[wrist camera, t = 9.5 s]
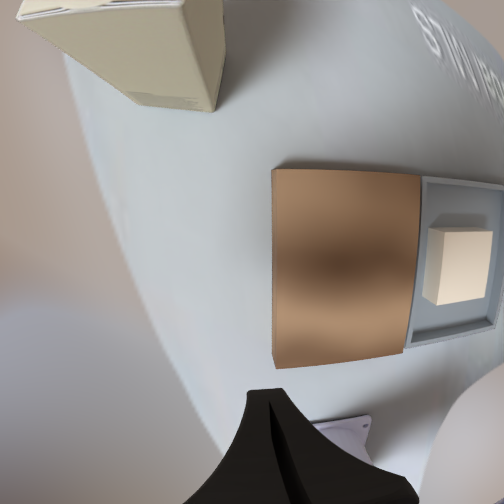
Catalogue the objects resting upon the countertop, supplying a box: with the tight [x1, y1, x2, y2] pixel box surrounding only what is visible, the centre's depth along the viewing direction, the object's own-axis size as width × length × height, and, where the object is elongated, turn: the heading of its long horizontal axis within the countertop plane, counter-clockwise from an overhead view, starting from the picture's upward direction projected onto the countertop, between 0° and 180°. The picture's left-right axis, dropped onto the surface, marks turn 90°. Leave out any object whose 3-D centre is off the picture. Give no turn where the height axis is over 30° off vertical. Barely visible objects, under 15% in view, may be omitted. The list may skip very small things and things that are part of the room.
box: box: [16, 0, 226, 113], centre depth 11 cm, size 5×4×13 cm
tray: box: [404, 176, 504, 349], centre depth 20 cm, size 12×10×2 cm
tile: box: [422, 227, 493, 306], centre depth 20 cm, size 5×5×2 cm
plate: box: [271, 169, 420, 369], centre depth 19 cm, size 12×9×2 cm
